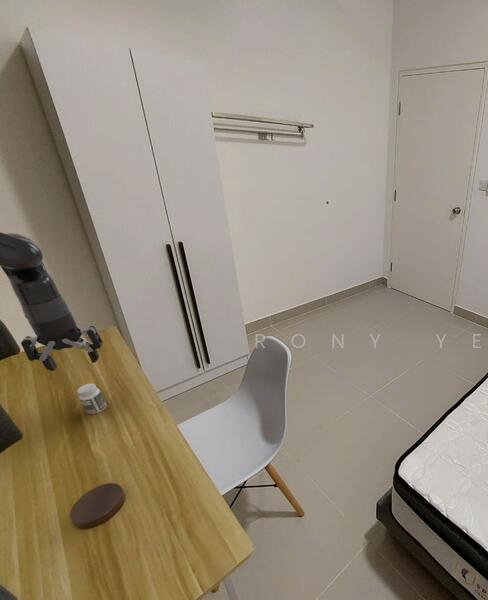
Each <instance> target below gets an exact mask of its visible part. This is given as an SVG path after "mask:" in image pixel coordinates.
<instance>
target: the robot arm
mask: <svg viewBox="0 0 488 600" xmlns="http://www.w3.org/2000/svg"><path fill="white" fill-rule="evenodd" d="M43 259H44V253H43V251H42V249H41V248H40V247H39V245H38V244H36V243H35V241H33V240H32V239H31V238H29V237H28V236H26V235H23V234H19V233H13V232H10V233H9V232H8V233H5V232H1V231H0V268H1V269H2V271H3V273H4V274H5V276H6V277H7V279H8V281H9V283H10V286H11V289H12V291H13V293H14V295H15V297H16V298H17V300H18V302H19V304H20V306H21V310H22V312H23V314H24V317H25V319H26V320H27V322H28V324H29V325H30V327H31V329H32V330H33V331H32V332H34V334H35V336H33V337H32V336H30V335H28V336H25V337H24V338H23V339H22V340H21V342H20V345H21V347H22V349H23V351H24V353H25V355H26V358H27V360H28V361H30V362H33V361H41V363H42V364H43V366H44V368H45V369H46V370H47V371H50V372H55V371H56V369H57V368H58V365H57V363H56V362H55V359H54V358H53V356H52V355H50V353H51V352H52V350H55V351H61V350H63V349H72V348H73V347H74V348H76V349H78V350H84V351H85V352H87V355H88V357H89V360H90V362H91V363H92V364H95V363H97V362H98V361H99V359H100V354H99V352H98V349H101V347H102V345H103V339H102V338H101V336H100V333H99V332H98V330H97V329H96V327H95V326H94V325H90V326H89V327H88V328H84V329H81V328H79V327H78V324H77V323H76V321H75V318H74V316H73V313H72V312H71V310H70V308H69V305H68V303H67V302H66V300H65V298H64V297H63V296H62V294H61V292H60V290H59V288H58V286H57V283H56V282H55V280H54V278H53V276H51V274H50V273H49V272H48V270H47V268H46V265H45V264H44V262H43ZM82 335H84V336H85V337H86V338H85V337H83V336H82ZM87 338H89V339H90V341H89V340H88V339H87ZM36 344H41V345H43V346H45V348H44V349H43V351H42V352H39V351H38V348H37V346H36Z"/></svg>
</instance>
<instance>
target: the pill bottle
mask: <svg viewBox="0 0 488 600" xmlns="http://www.w3.org/2000/svg"><path fill="white" fill-rule="evenodd" d="M76 393H77V394H78V399H79V401H80V404H81V405H82V407H83V409H84V411H85V413H86V414H87V415H95V414H98V413H100V412H102V411H104V410H105V409H106V408H107V406H108V405H107V402H106V400H105V397H104V396H103V394H102V392H101V390H100V388H98V387H97V386H96V384H95V383H86V384H83V385H81V386H79V388H78V389H77V390H76Z"/></svg>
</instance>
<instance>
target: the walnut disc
mask: <svg viewBox="0 0 488 600" xmlns="http://www.w3.org/2000/svg"><path fill="white" fill-rule="evenodd" d="M125 499H126V494H125V491H124V490H123V487H122V486H121V485H120V484H118V483H114V482H107V483H103V484H100V485H98V486H96V487H94V488H92V489H90V490H88V491H87V492H85V493H84V494H83V495H82V496H80V498H78V499H77V500H76V502H75V503H74V504H73V505H72V507H71V509H70V511H69V518H70V520H71V522H72V524H73V525H74V526H75V527H76V528H78V529H82V530H83V529H86V530H87V529H92V528H94V527H97V526H99V525H101V524H103V523H105V522H106V521H108V520H109V519H111V518H112V517H113V516H115V515H116V514H117V513H118V512H119V510H120V509H121V508H122V506H123V504H124V503H125Z"/></svg>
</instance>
